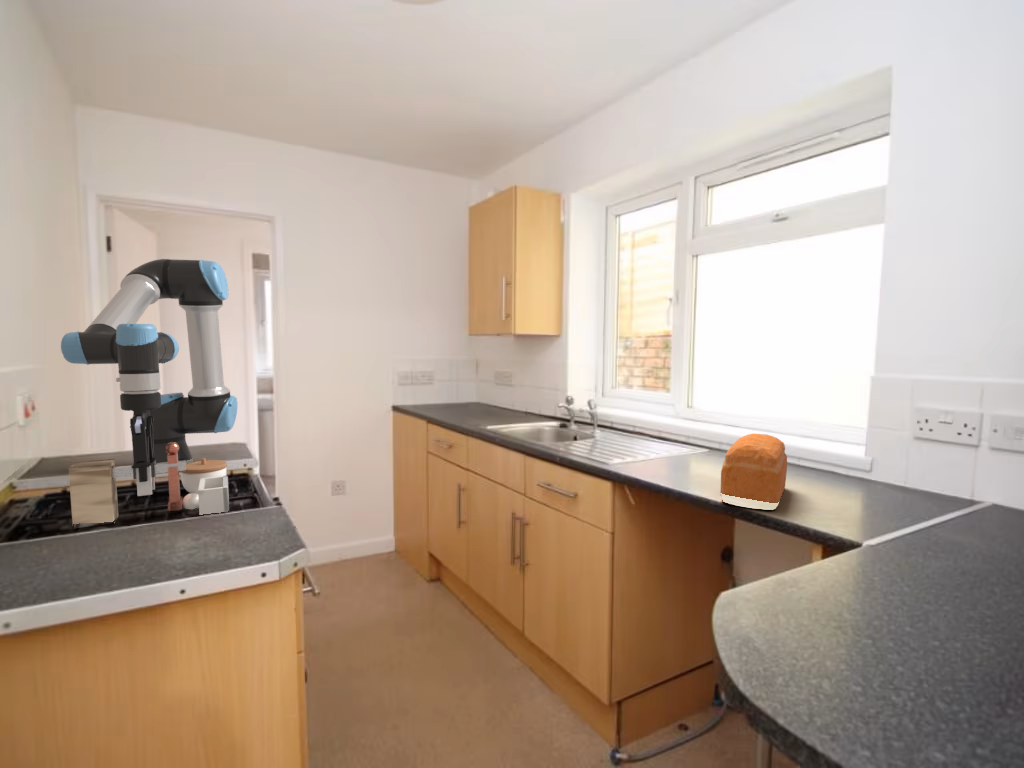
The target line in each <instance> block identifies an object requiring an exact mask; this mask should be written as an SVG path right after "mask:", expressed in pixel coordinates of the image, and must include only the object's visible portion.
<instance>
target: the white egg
mask: <svg viewBox="0 0 1024 768" xmlns="http://www.w3.org/2000/svg"><path fill="white" fill-rule="evenodd" d="M182 504H183V505H182V508H184V509H186V510H187V509H195V508H197V509H199V497H198V494H196V493H188V494H186V495H185V496H184V497H183V498H182ZM195 510H196V509H195Z"/></svg>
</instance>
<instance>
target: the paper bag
mask: <svg viewBox="0 0 1024 768" xmlns="http://www.w3.org/2000/svg"><path fill="white" fill-rule="evenodd" d="M111 467H116V461H115V458H108V459H97V460H85V461H75V462H74V463H72V465H70V466H69V467H68V479H69V481H68V482H69V490H70V491H69V493H70V506H71V507H70V509H71V520H72V525H73V524H79V523H104V522H113V521H114V520H115V519H116V518H117V519H118V518H119V507H118V506H119V505H118V504H119V503H118V491H117V477H115V478H112V472H111ZM117 519H116V520H117Z"/></svg>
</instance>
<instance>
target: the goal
mask: <svg viewBox="0 0 1024 768" xmlns="http://www.w3.org/2000/svg"><path fill="white" fill-rule="evenodd" d="M198 497H199V507H198V510H199V511H198V512H199V513H198V514H199V515H203V514H211V513H219V514H222V513H221V512H226V513H229V512H230V506H229V505H230V502H229V501H230V500H229V499H230V497H229V477H228V475H227V474H226V476H218V477H209V478H200V484H199V489H198ZM228 511H229V512H228ZM211 515H212V514H211Z"/></svg>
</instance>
